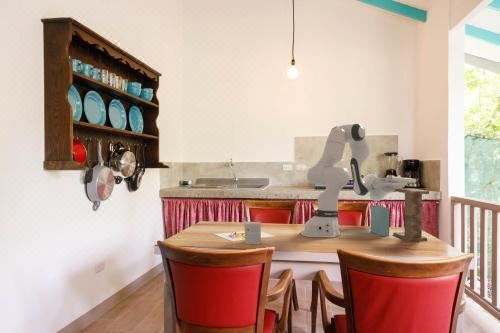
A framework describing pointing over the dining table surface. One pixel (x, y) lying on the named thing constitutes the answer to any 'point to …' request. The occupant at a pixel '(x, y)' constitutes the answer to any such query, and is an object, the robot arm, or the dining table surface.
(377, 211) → the teal block
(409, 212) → the walnut stand
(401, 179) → the domino tile
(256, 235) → the small box
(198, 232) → the dining table surface
